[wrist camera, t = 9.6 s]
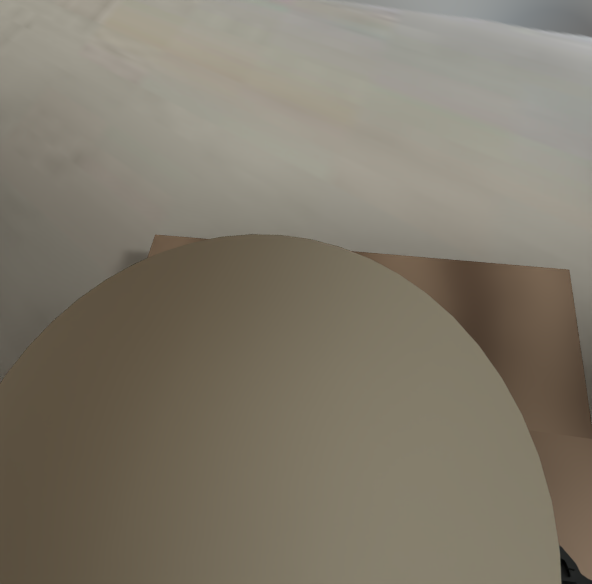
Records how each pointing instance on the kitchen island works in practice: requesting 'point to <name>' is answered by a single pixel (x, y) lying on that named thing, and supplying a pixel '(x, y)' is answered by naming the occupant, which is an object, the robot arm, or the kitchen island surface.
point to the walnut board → (519, 365)
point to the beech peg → (266, 432)
